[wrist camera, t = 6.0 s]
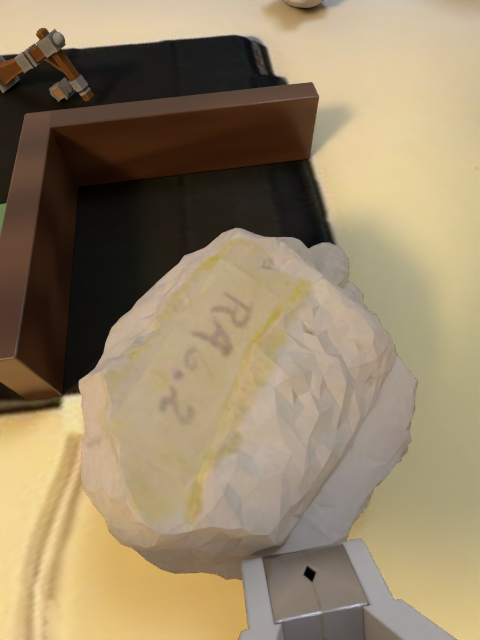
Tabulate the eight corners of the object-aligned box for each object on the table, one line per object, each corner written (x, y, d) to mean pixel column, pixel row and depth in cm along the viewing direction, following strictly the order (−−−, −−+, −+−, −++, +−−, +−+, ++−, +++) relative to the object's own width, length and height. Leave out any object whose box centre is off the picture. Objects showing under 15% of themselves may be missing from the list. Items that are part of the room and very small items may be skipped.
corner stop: (381, 347, 18) (413, 299, 14) (28, 401, 17) (-29, 364, 14) (304, 144, 25) (312, 81, 22) (56, 174, 24) (24, 113, 21)
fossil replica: (376, 305, 19) (181, 302, 21) (424, 148, 13) (130, 160, 14) (417, 604, 12) (121, 572, 14) (573, 613, 6) (-37, 549, 7)
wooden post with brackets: (92, 102, 27) (43, 28, 24) (29, 124, 31) (-21, 65, 28) (106, 88, 28) (60, 15, 24) (42, 112, 32) (-4, 52, 29)
